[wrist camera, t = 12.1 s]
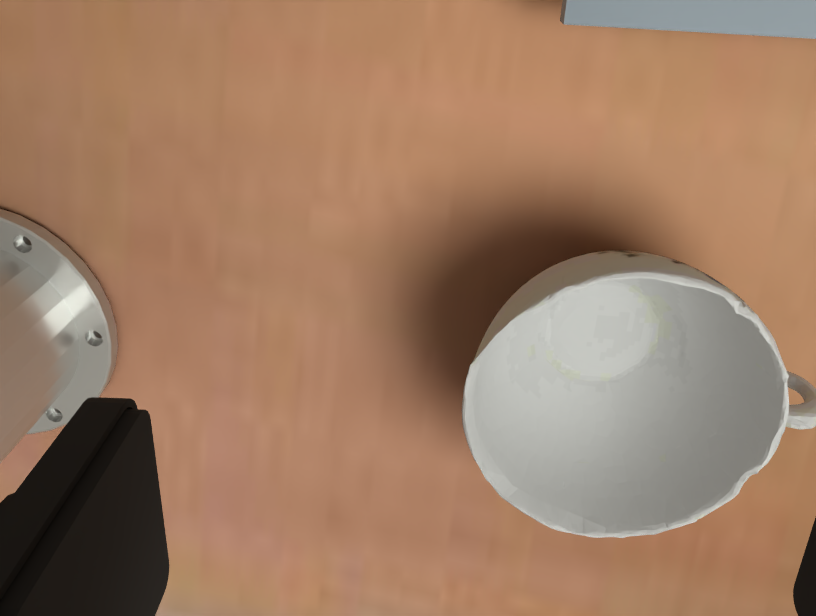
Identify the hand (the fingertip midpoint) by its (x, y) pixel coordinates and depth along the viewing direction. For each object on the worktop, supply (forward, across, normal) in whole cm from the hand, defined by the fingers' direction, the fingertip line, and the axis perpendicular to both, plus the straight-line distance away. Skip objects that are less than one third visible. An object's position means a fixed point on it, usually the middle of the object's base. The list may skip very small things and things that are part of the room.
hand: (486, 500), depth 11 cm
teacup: (+25, -9, +9) cm, 28 cm away
